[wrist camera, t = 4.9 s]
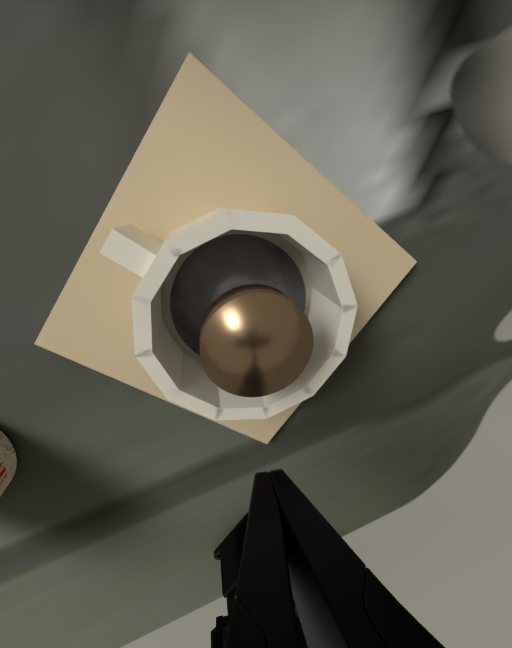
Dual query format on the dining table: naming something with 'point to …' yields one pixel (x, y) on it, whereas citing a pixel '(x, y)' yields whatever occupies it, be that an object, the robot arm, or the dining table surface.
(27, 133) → the dining table surface
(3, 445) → the teacup with lid
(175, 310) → the plunger
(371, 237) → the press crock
